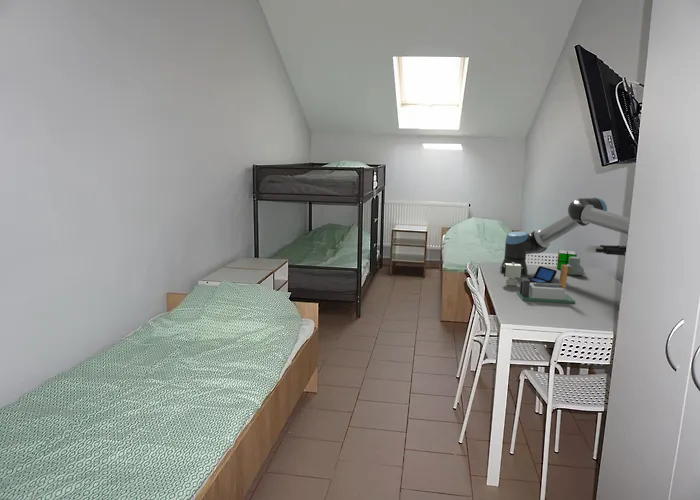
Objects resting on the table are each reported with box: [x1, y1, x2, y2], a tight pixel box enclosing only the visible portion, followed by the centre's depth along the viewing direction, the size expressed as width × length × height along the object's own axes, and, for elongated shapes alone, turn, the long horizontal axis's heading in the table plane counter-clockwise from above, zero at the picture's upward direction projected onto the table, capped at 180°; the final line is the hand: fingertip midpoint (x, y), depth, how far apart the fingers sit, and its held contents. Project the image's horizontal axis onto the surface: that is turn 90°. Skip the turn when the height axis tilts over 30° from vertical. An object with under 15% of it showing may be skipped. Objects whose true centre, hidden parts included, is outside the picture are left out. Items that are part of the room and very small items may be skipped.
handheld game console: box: [527, 265, 558, 283], centre depth 292 cm, size 12×11×7 cm
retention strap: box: [533, 264, 568, 289], centre depth 257 cm, size 14×5×10 cm, turn 85°
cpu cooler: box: [516, 277, 576, 304], centre depth 259 cm, size 24×12×9 cm, turn 85°
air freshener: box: [566, 256, 585, 277], centre depth 313 cm, size 11×8×10 cm
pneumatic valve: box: [499, 262, 525, 287], centre depth 283 cm, size 6×12×12 cm, turn 81°
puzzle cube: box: [556, 249, 578, 270], centre depth 329 cm, size 10×10×10 cm
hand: (587, 248), depth 254 cm, fingers open, 3 cm apart
